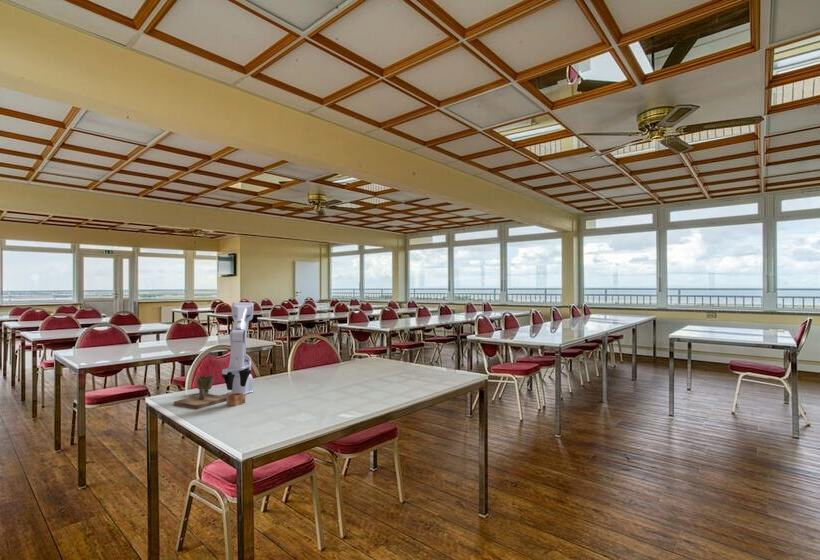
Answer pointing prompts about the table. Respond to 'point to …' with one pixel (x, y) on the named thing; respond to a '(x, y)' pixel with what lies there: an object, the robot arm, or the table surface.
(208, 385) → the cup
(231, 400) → the hollow wooden block
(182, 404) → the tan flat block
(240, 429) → the table surface
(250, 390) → the robot arm
